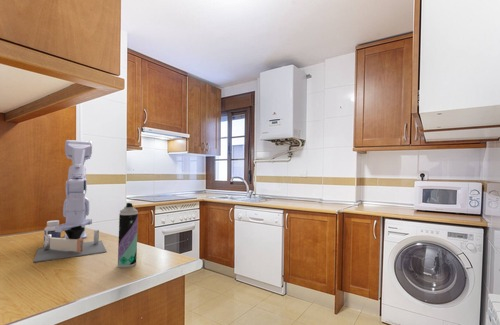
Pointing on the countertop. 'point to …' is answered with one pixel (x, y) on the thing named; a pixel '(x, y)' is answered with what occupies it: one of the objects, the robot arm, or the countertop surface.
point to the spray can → (127, 236)
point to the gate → (66, 244)
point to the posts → (48, 236)
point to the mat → (69, 252)
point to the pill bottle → (52, 229)
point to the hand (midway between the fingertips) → (73, 247)
